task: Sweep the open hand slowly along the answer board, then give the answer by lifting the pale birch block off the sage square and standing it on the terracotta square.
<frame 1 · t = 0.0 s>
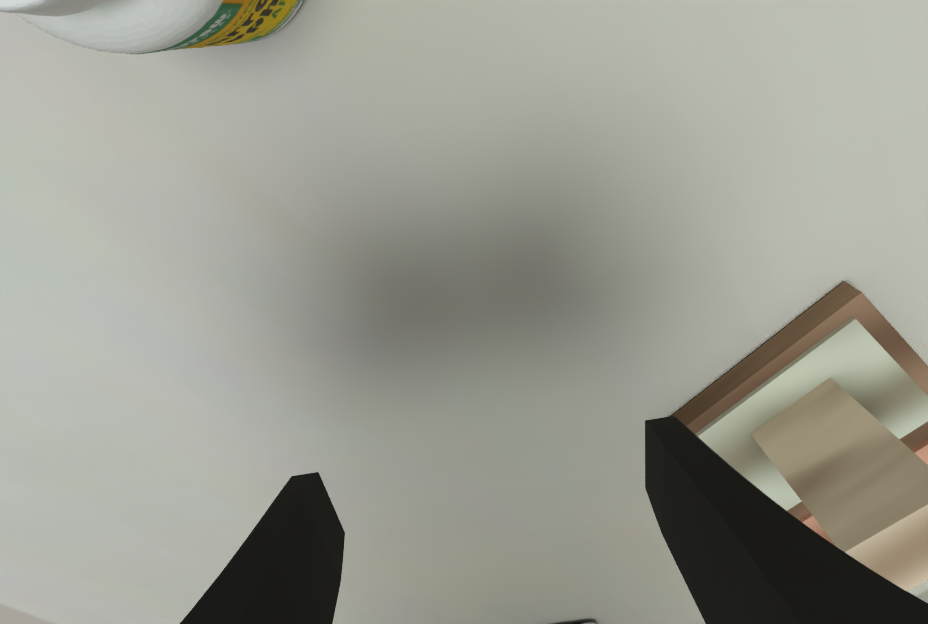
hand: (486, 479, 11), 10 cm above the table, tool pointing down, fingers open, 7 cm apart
answer board: (846, 454, 26), on the table
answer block: (813, 428, 23), point 1 cm above the table, touching answer board
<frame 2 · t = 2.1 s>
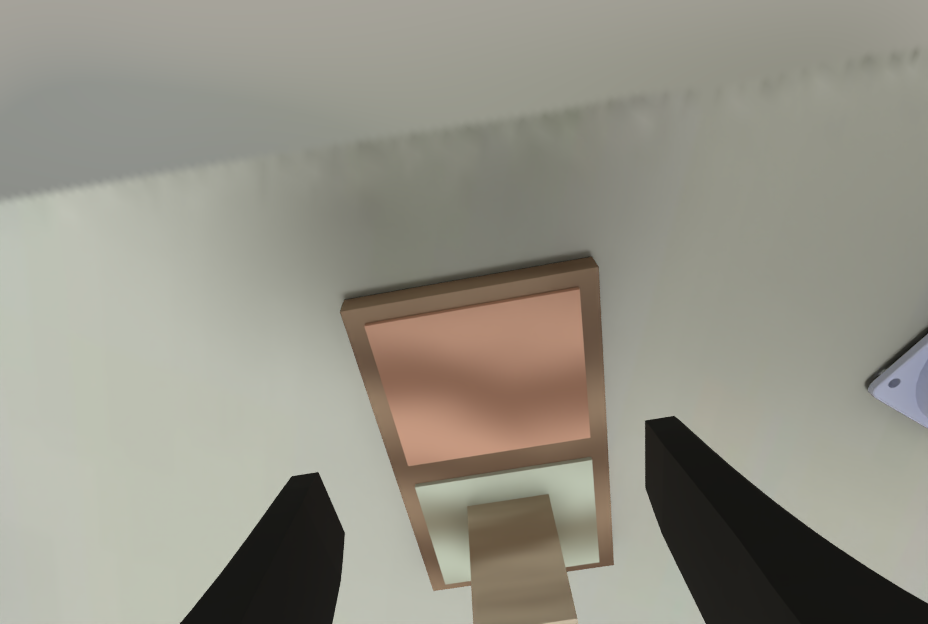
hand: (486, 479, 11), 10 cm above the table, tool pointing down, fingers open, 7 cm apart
answer board: (498, 444, 25), on the table
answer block: (512, 527, 26), point 1 cm above the table, touching answer board
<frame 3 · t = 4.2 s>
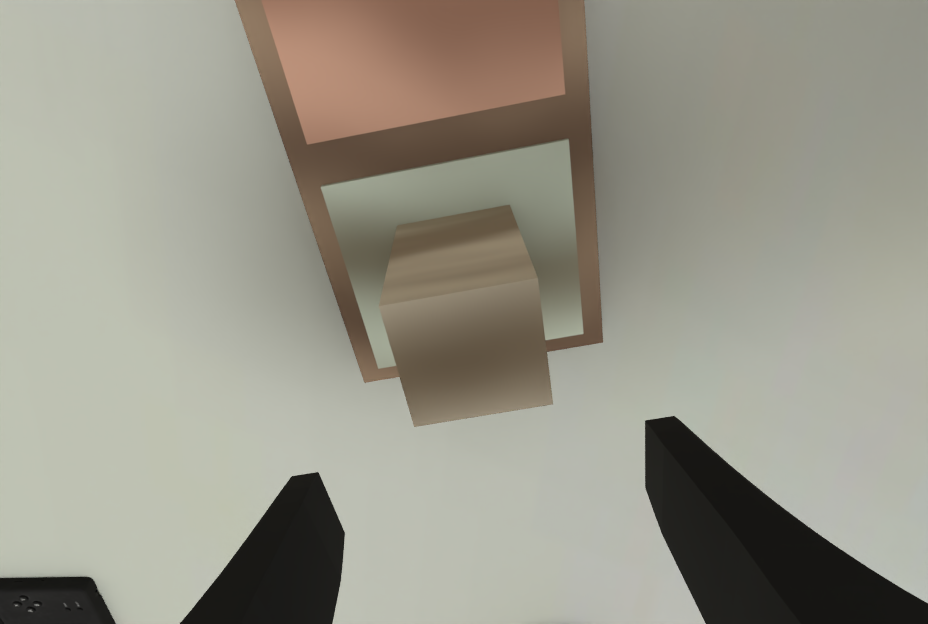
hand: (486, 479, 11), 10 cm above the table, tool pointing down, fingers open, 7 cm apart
answer board: (439, 135, 18), on the table
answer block: (463, 266, 19), point 1 cm above the table, touching answer board
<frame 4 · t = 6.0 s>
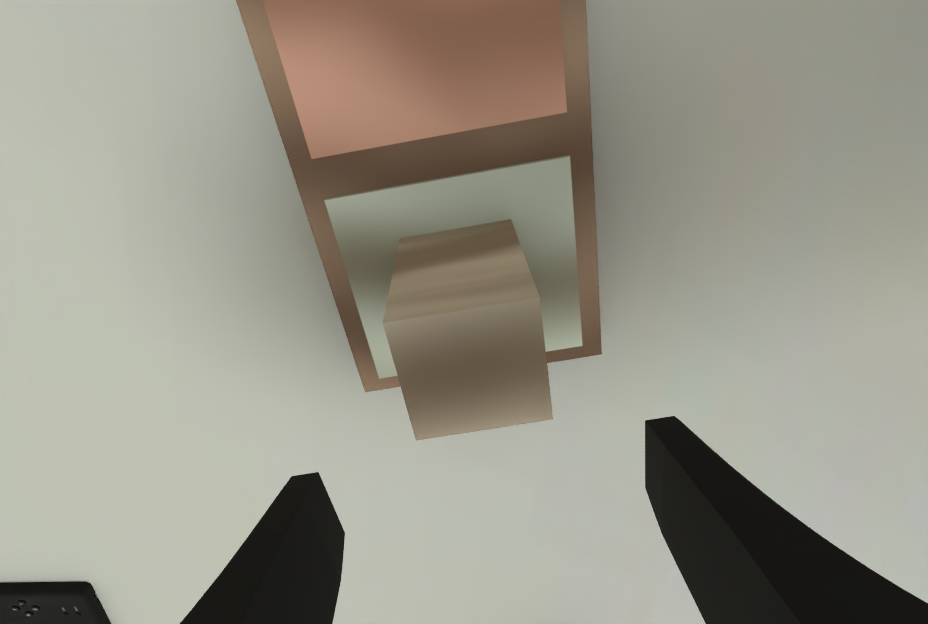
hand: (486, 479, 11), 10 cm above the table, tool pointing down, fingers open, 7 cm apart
answer board: (441, 150, 18), on the table
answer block: (464, 279, 19), point 1 cm above the table, touching answer board
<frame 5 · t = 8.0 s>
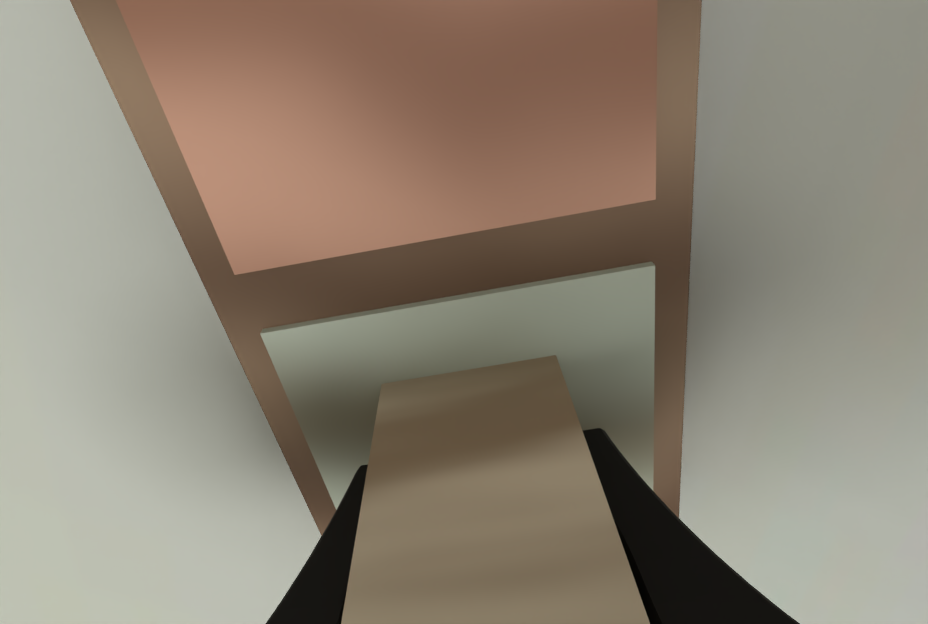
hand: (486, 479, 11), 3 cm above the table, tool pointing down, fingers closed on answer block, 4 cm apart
answer board: (446, 248, 11), on the table
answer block: (481, 435, 13), point 1 cm above the table, touching answer board, gripper
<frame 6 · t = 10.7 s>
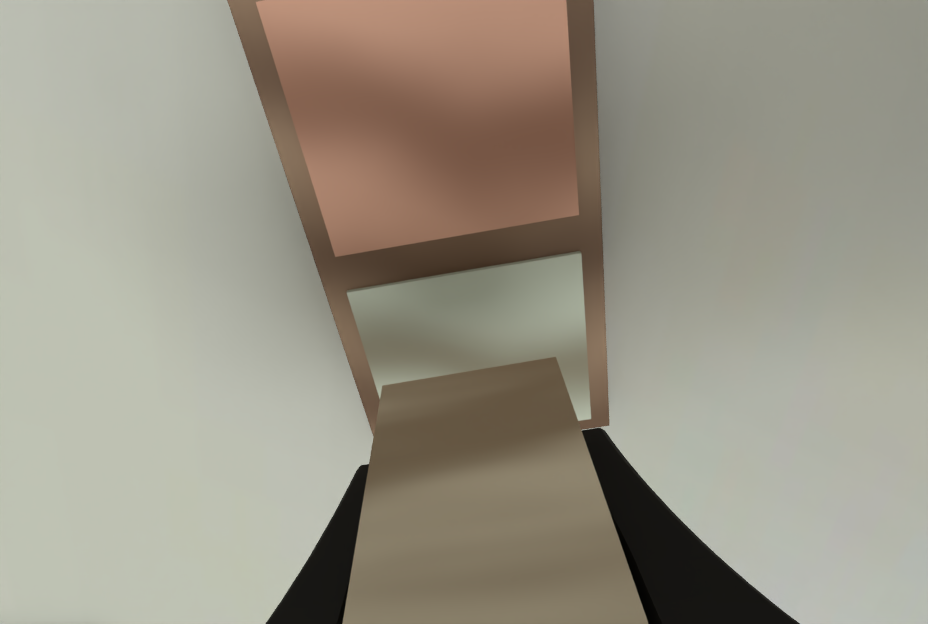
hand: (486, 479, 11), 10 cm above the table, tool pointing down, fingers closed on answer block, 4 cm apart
answer board: (458, 242, 19), on the table
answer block: (482, 436, 13), point 8 cm above the table, touching gripper
when the fingers open (3 cm above the table, at t = 13.4 s): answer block stays where it is, resting on answer board.
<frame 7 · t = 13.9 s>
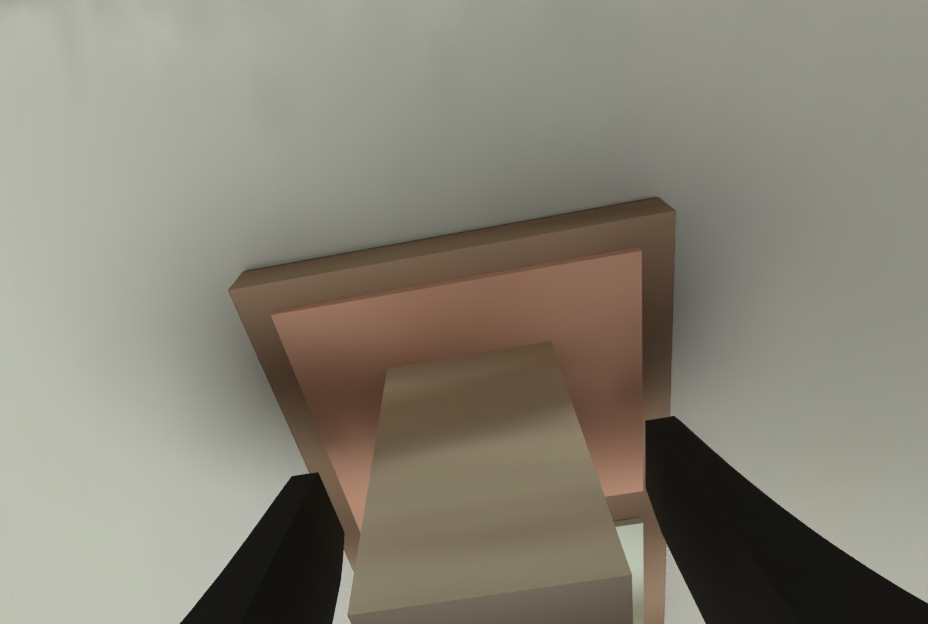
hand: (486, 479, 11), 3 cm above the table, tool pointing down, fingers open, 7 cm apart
answer board: (499, 496, 16), on the table
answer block: (481, 418, 13), point 1 cm above the table, touching answer board
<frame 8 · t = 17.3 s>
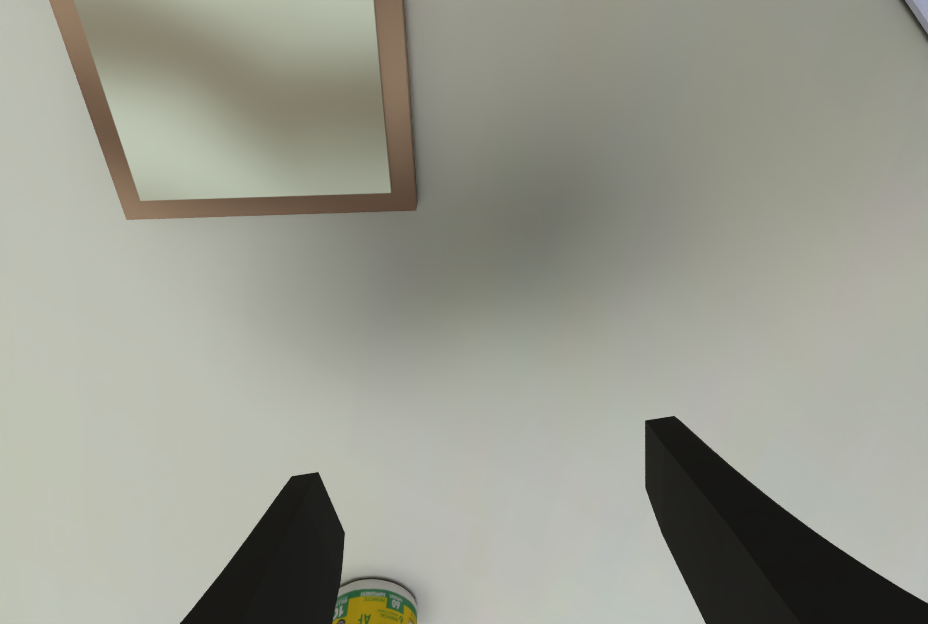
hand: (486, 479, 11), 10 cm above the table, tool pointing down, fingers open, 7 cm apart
supplement bottle: (373, 600, 31), on the table
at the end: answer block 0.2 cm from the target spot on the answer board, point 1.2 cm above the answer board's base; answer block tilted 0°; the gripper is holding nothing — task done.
